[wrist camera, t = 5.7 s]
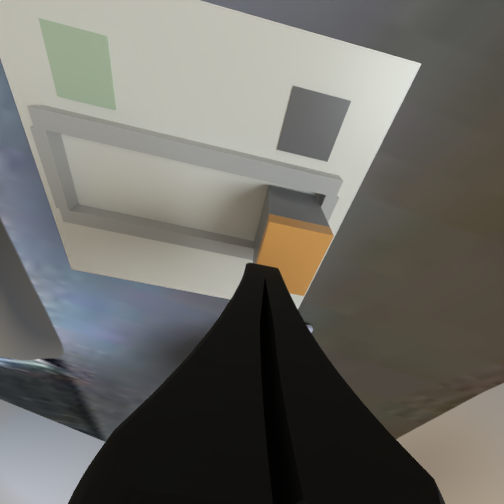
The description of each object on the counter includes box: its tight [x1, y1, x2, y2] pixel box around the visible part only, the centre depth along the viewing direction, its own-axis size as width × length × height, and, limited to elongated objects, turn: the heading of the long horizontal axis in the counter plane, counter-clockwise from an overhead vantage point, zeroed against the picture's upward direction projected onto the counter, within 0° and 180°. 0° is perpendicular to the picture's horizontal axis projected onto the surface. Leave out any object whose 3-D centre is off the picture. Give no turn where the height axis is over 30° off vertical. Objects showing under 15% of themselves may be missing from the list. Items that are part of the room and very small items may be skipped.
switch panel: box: [0, 0, 421, 309], centre depth 15 cm, size 18×20×2 cm
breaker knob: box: [253, 185, 334, 296], centre depth 13 cm, size 4×3×5 cm
